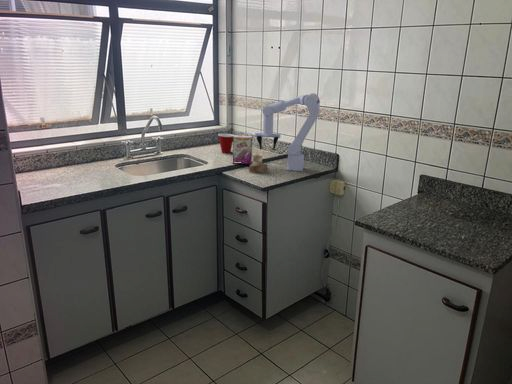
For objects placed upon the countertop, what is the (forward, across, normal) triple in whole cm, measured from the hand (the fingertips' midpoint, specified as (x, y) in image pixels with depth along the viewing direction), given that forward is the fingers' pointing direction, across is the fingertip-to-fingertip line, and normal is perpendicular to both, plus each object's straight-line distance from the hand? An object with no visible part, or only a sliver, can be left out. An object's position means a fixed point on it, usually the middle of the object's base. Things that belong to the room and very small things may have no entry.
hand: (267, 149), depth 242 cm
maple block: (+6, -4, -11) cm, 13 cm away
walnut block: (+10, -4, -11) cm, 16 cm away
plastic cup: (+10, -30, +25) cm, 40 cm away
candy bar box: (+10, -15, +2) cm, 18 cm away
